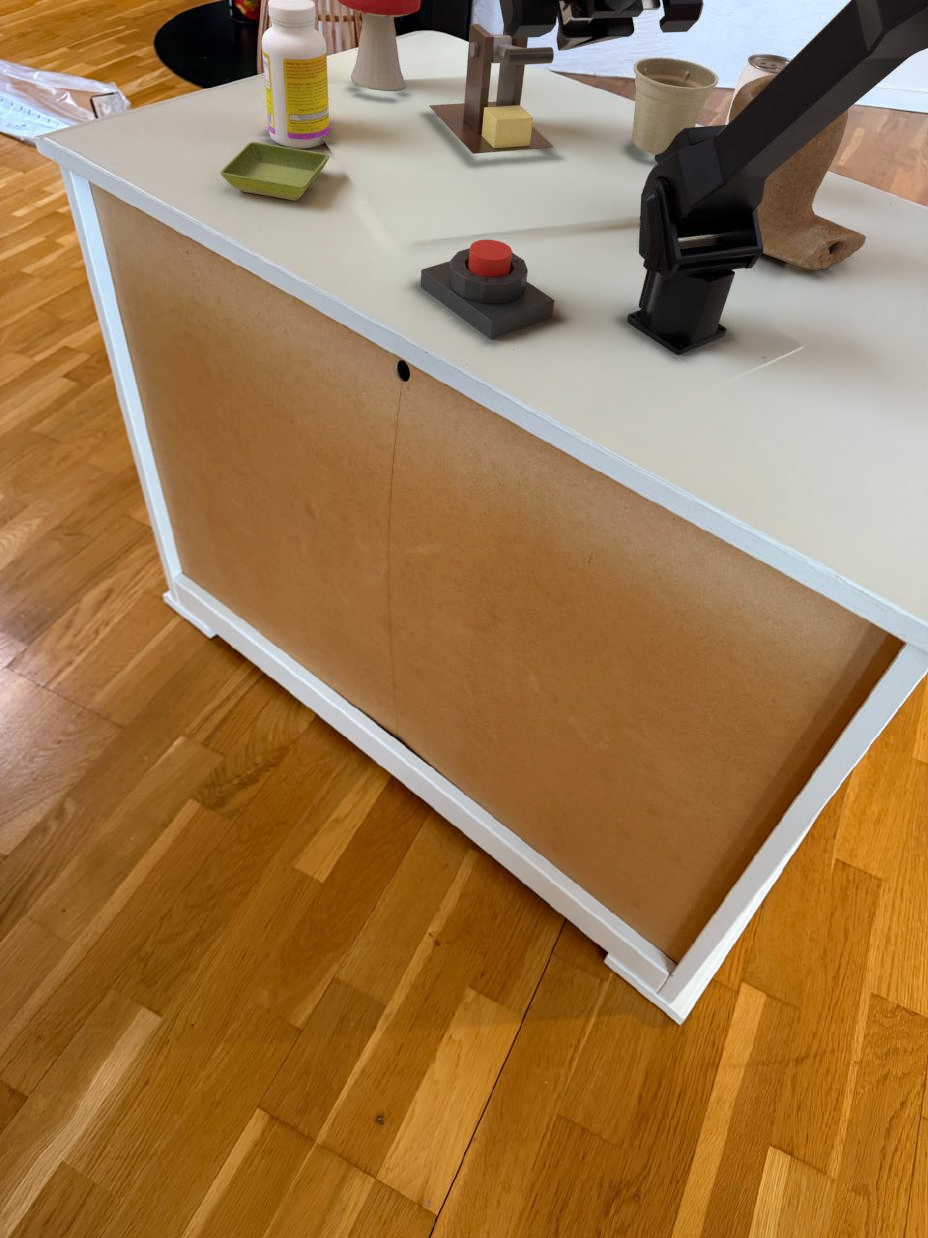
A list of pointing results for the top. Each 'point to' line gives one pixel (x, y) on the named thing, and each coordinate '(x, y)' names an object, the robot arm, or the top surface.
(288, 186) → the olive green shallow tray
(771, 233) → the clay smoking pipe
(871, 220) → the top surface
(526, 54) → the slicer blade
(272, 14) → the supplement bottle
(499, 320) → the box
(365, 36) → the decorative mushroom
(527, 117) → the butter
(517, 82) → the slicer
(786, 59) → the can
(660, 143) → the flower pot
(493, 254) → the button
